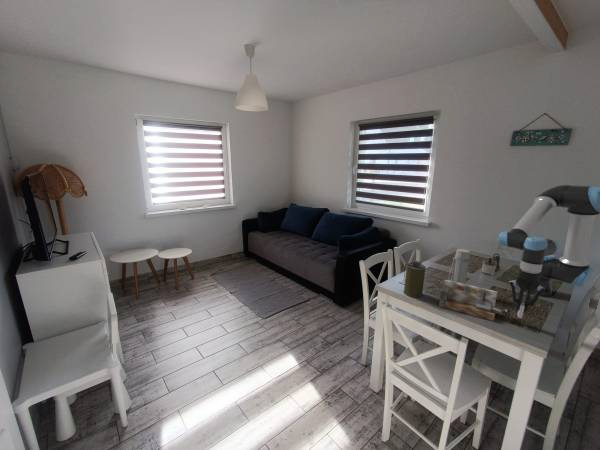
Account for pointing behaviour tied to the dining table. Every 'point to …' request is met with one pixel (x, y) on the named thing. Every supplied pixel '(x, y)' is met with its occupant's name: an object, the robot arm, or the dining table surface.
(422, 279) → the canister
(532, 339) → the dining table surface
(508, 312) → the silver block with knob
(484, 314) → the brown wooden box
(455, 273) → the water bottle
